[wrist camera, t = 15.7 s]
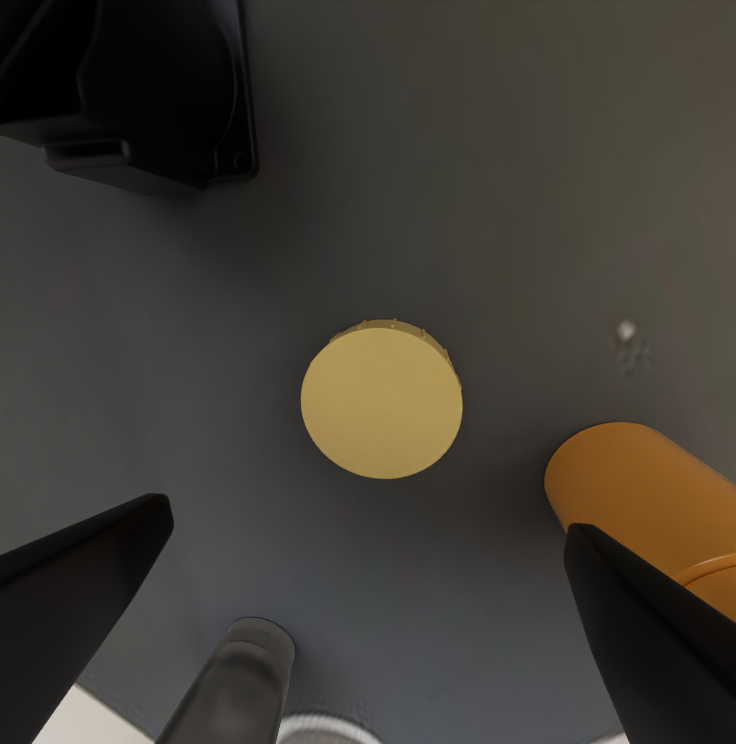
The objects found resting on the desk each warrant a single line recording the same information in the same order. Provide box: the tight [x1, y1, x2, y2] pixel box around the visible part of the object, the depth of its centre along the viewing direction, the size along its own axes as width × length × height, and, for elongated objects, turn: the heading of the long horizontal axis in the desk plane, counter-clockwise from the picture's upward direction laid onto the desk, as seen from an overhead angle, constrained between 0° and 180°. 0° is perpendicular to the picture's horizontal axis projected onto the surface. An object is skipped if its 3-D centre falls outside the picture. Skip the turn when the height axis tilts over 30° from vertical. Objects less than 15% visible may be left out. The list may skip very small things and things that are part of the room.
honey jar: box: [544, 422, 736, 623], centre depth 11 cm, size 6×6×9 cm
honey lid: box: [301, 318, 463, 479], centre depth 15 cm, size 6×6×2 cm
